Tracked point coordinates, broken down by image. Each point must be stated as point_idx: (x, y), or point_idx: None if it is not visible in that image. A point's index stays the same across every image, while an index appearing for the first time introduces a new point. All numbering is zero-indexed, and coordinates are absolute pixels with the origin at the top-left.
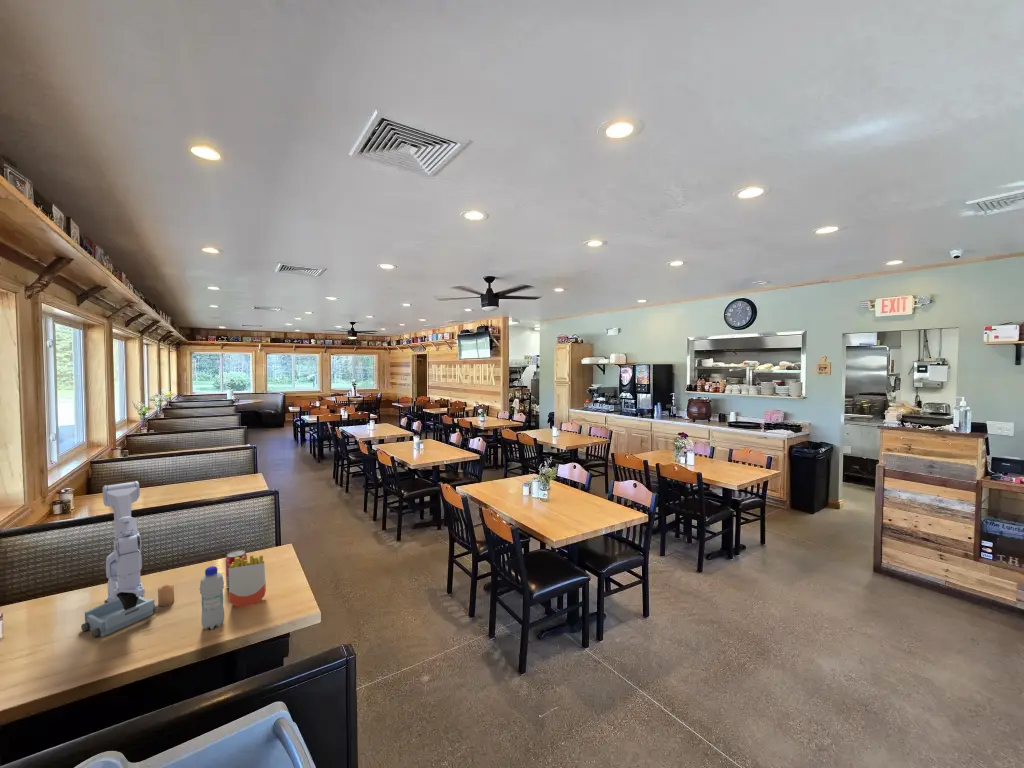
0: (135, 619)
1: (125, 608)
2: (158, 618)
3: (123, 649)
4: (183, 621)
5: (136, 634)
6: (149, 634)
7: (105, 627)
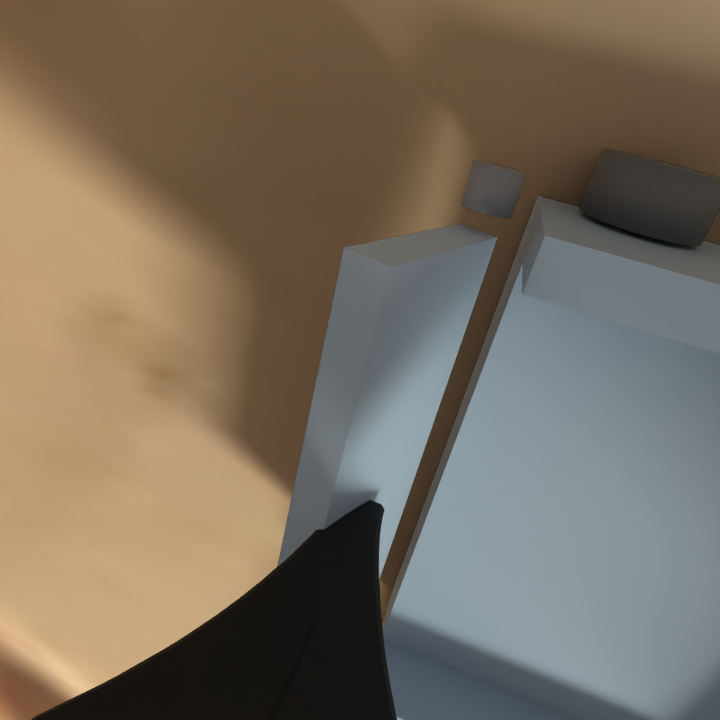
0: (426, 503)
1: (312, 547)
2: (272, 533)
3: (26, 48)
4: (45, 495)
5: (191, 300)
6: (83, 317)
7: (479, 236)
